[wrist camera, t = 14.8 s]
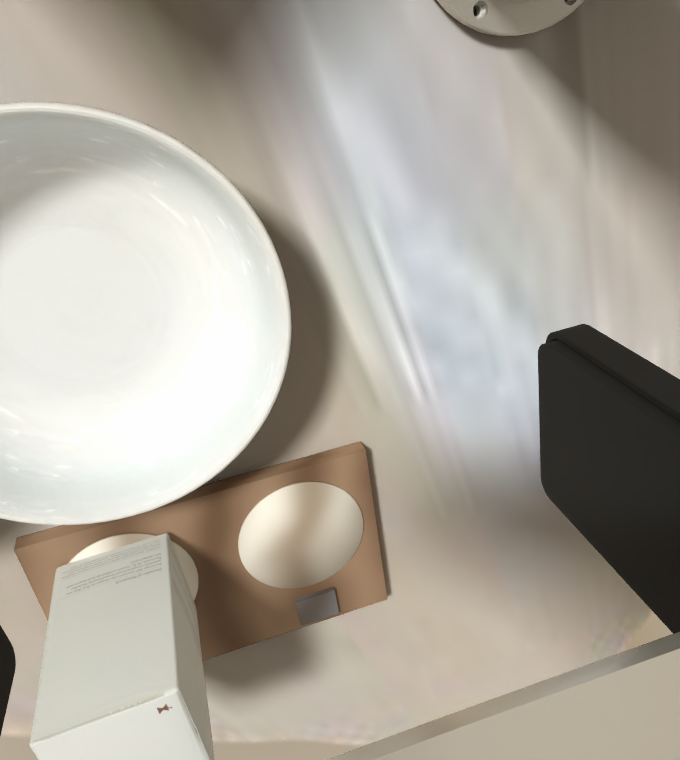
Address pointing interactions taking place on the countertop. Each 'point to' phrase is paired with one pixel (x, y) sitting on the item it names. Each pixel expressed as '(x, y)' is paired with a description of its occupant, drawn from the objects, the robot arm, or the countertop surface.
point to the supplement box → (123, 661)
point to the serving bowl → (126, 317)
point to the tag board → (249, 548)
